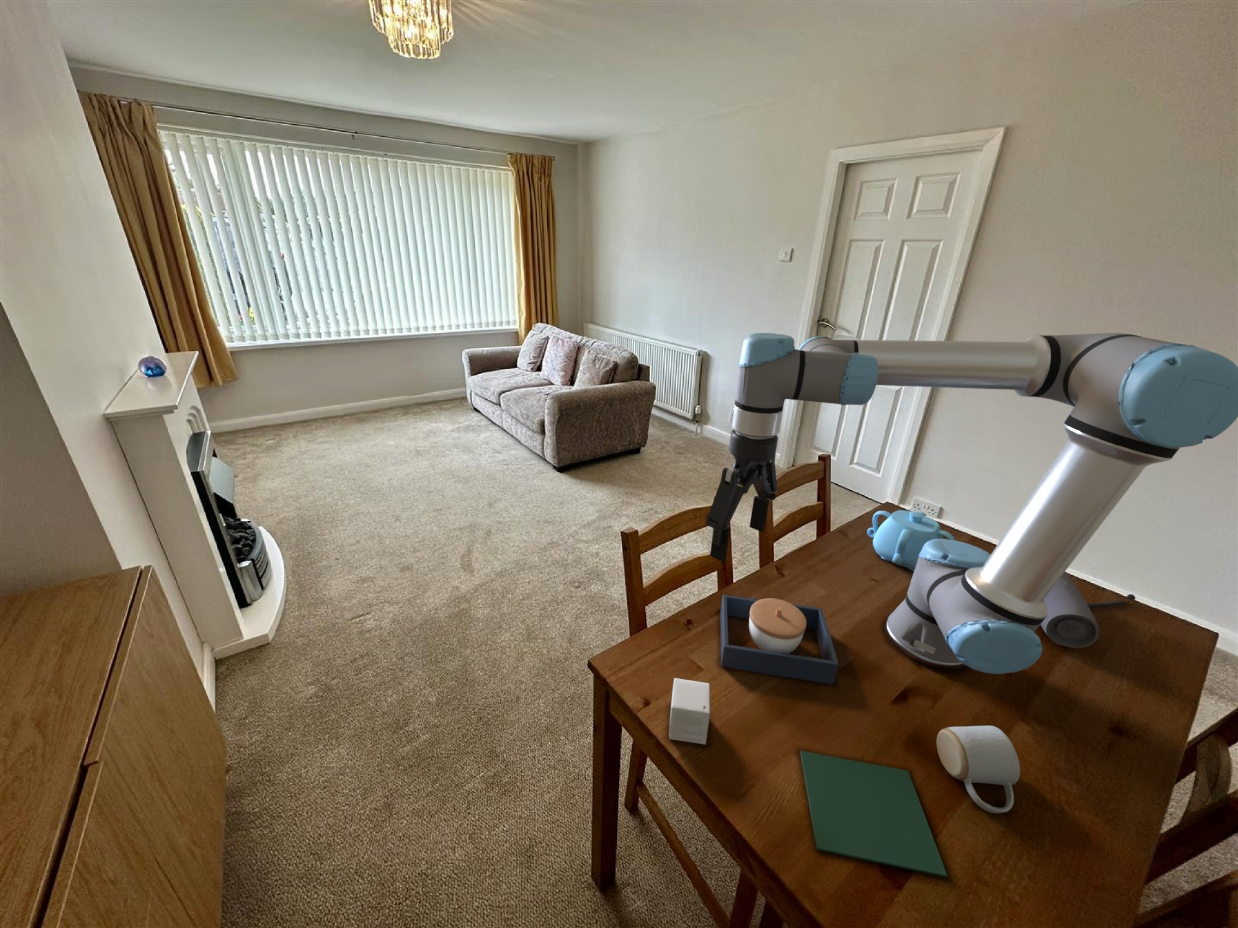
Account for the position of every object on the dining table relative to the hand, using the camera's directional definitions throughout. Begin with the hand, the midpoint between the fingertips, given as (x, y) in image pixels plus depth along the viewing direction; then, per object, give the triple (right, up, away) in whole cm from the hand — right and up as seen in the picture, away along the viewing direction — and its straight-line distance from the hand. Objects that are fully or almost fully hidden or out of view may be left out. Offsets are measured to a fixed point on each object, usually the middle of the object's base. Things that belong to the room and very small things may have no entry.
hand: (738, 543), depth 87 cm
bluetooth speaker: (+75, -21, +22) cm, 80 cm away
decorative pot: (+54, -11, +42) cm, 70 cm away
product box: (-10, -30, -6) cm, 32 cm away
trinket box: (+10, -23, +11) cm, 27 cm away
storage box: (+10, -23, +11) cm, 27 cm away
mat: (+14, -35, -17) cm, 42 cm away
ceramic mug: (+33, -34, -13) cm, 49 cm away
